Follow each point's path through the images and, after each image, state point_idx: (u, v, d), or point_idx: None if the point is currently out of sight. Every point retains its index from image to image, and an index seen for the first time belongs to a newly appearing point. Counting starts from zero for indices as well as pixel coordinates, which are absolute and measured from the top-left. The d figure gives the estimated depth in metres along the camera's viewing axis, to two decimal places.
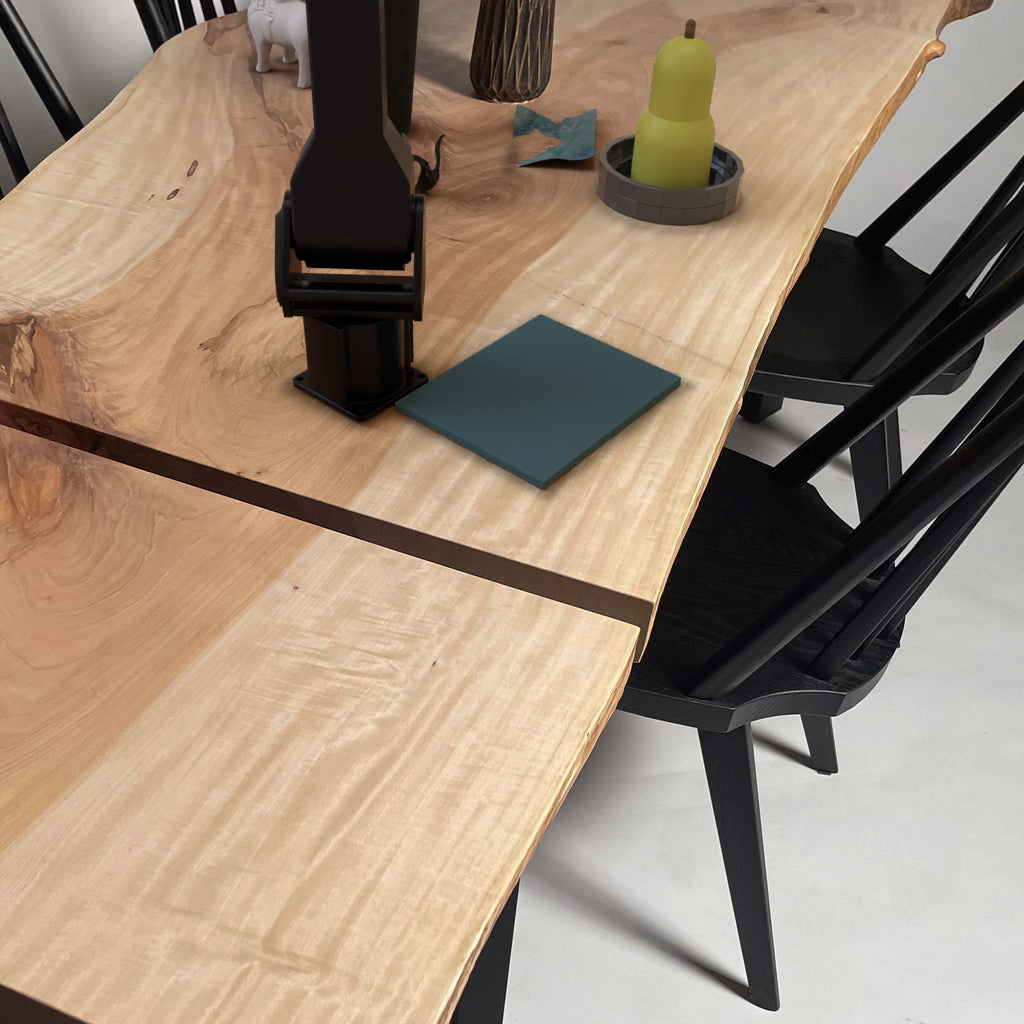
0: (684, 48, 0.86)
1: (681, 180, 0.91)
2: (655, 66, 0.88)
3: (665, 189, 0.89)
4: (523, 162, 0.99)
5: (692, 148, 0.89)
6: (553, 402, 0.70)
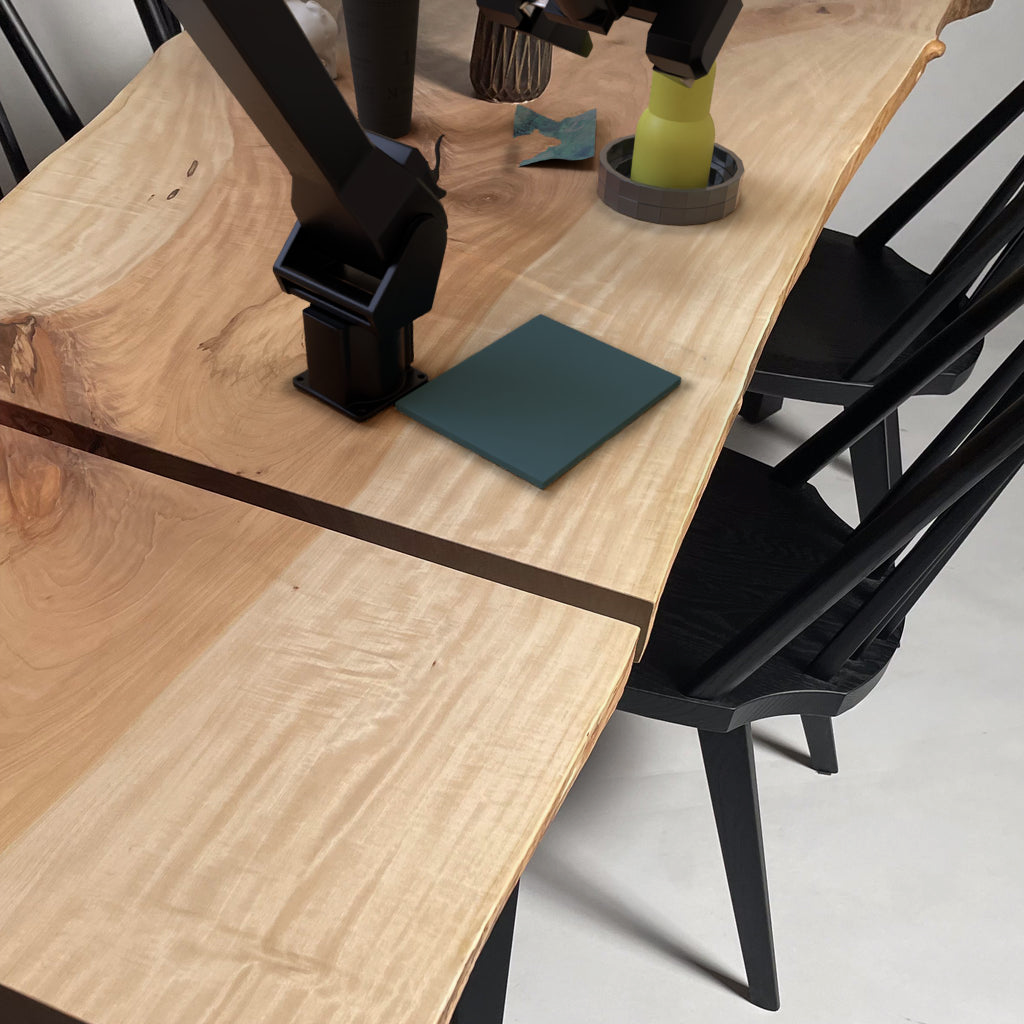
0: None
1: (681, 180, 0.91)
2: None
3: (665, 189, 0.89)
4: (523, 162, 0.99)
5: (692, 148, 0.89)
6: (553, 402, 0.70)
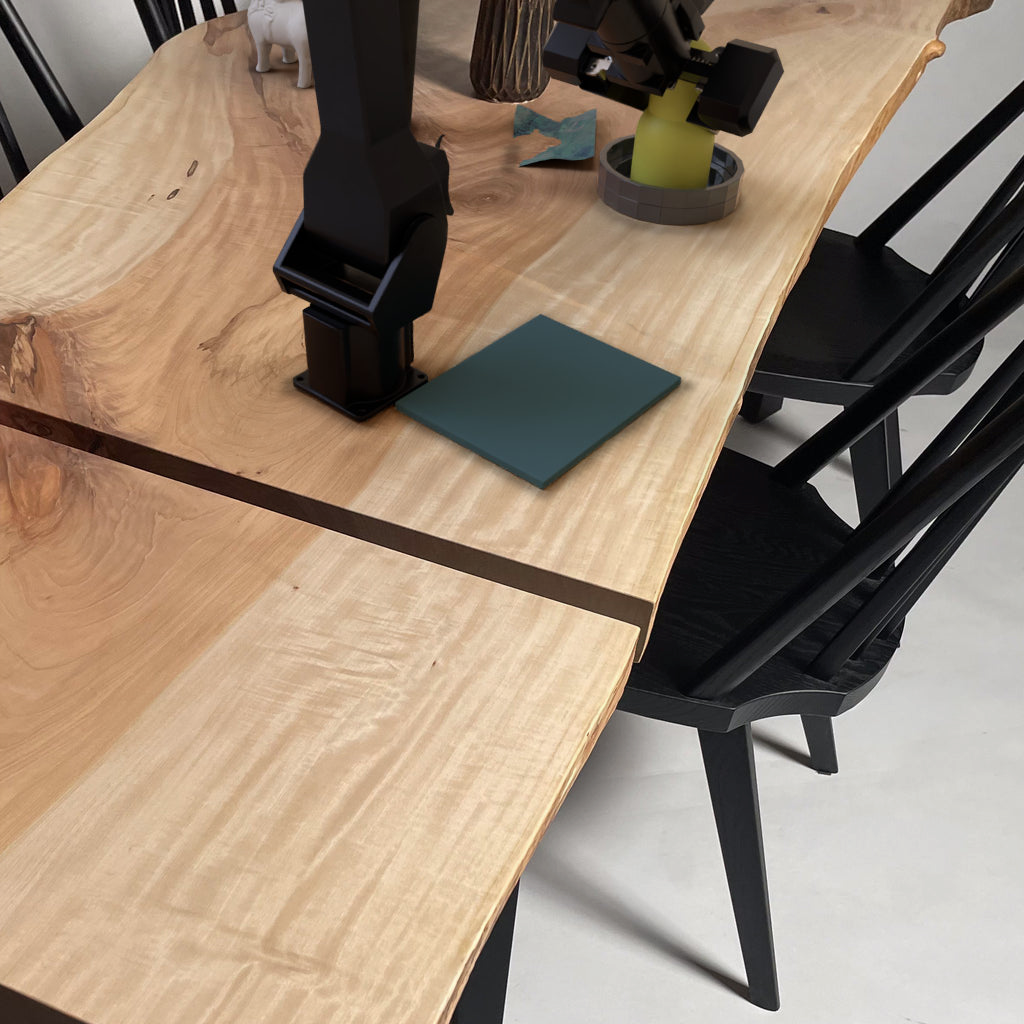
0: None
1: (681, 180, 0.91)
2: None
3: (665, 189, 0.89)
4: (523, 162, 0.99)
5: (692, 148, 0.89)
6: (553, 402, 0.70)
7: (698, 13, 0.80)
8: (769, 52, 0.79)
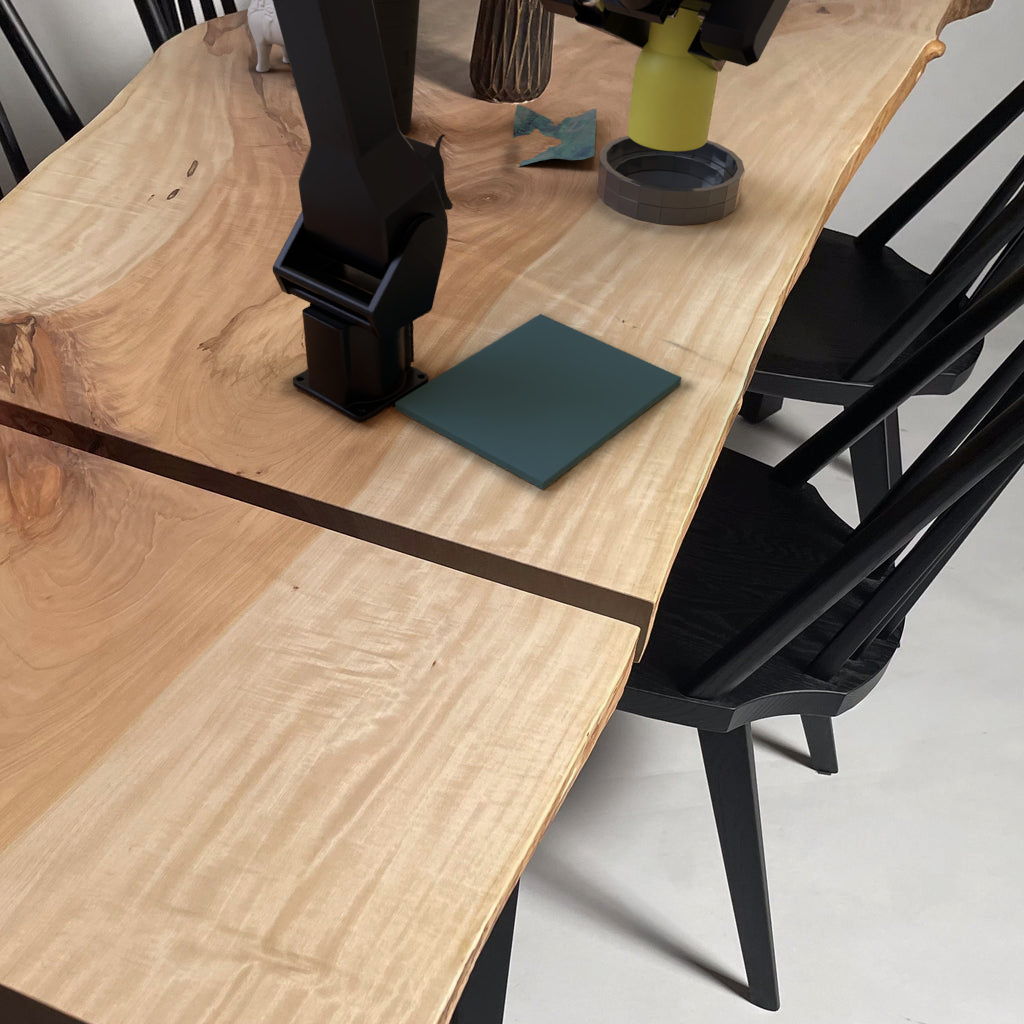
0: None
1: (682, 120, 0.87)
2: None
3: (665, 189, 0.89)
4: (523, 162, 0.99)
5: (694, 84, 0.85)
6: (553, 402, 0.70)
7: None
8: None
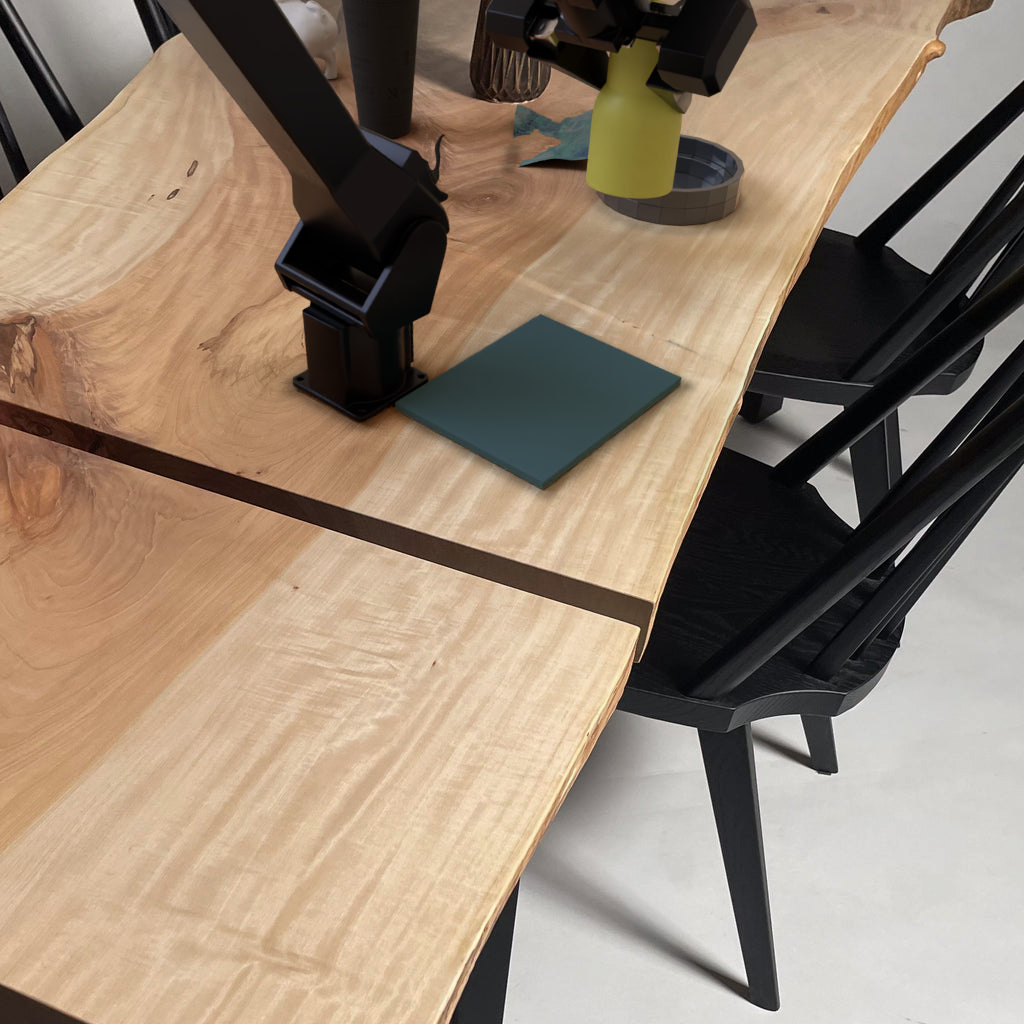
0: None
1: (643, 164, 0.80)
2: None
3: None
4: (523, 162, 0.99)
5: (655, 125, 0.78)
6: (553, 402, 0.70)
7: None
8: None
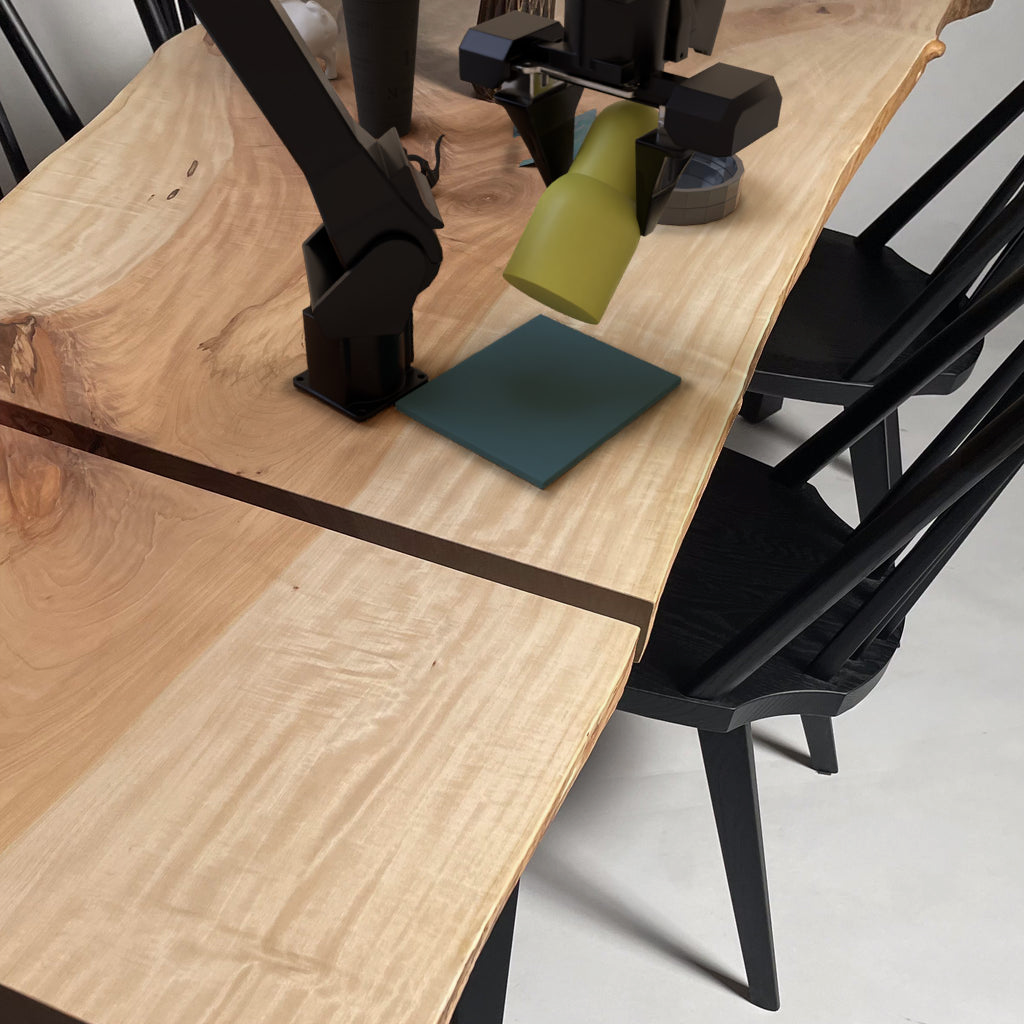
0: None
1: (586, 260, 0.64)
2: (596, 118, 0.66)
3: None
4: (523, 162, 0.99)
5: (615, 222, 0.64)
6: (553, 402, 0.70)
7: (690, 23, 0.61)
8: (774, 78, 0.59)
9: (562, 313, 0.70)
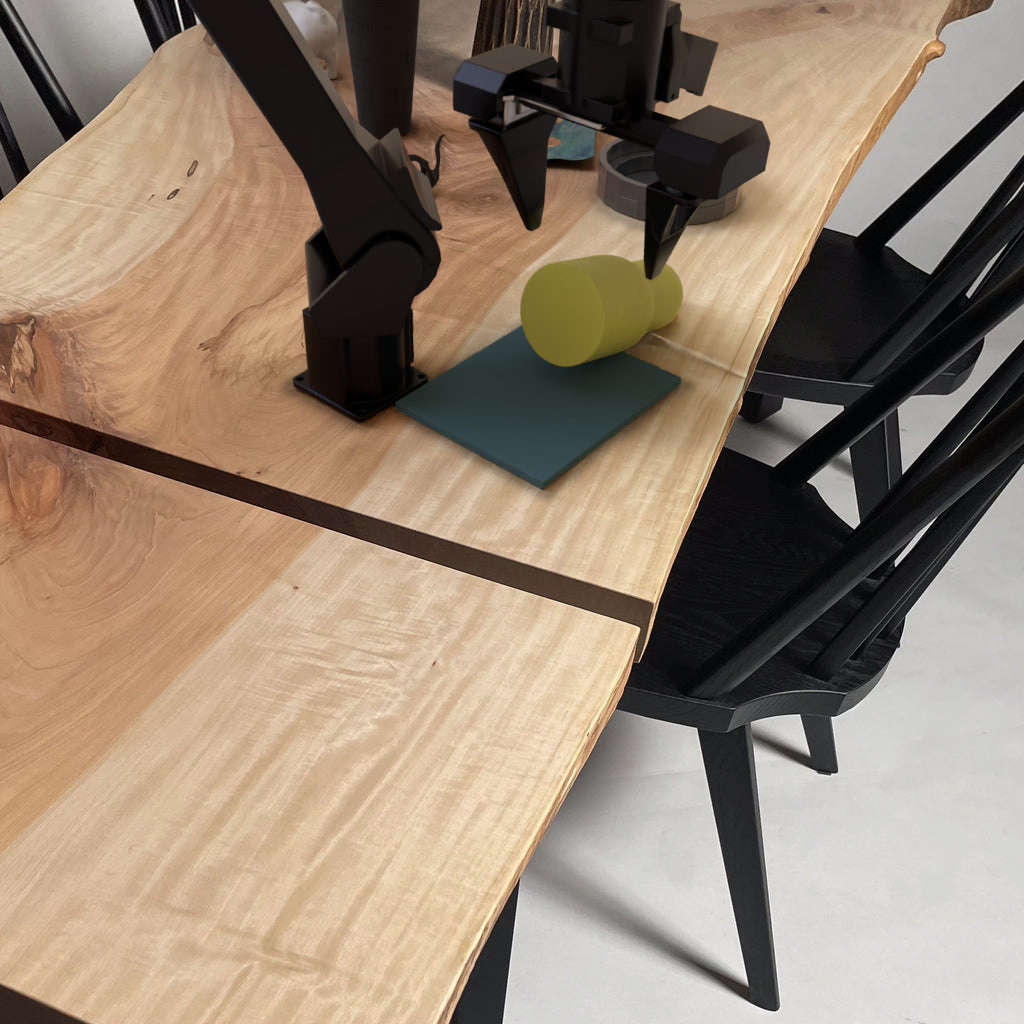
0: None
1: (621, 287, 0.69)
2: None
3: None
4: None
5: (646, 290, 0.71)
6: (553, 402, 0.70)
7: (682, 65, 0.62)
8: None
9: (544, 357, 0.71)
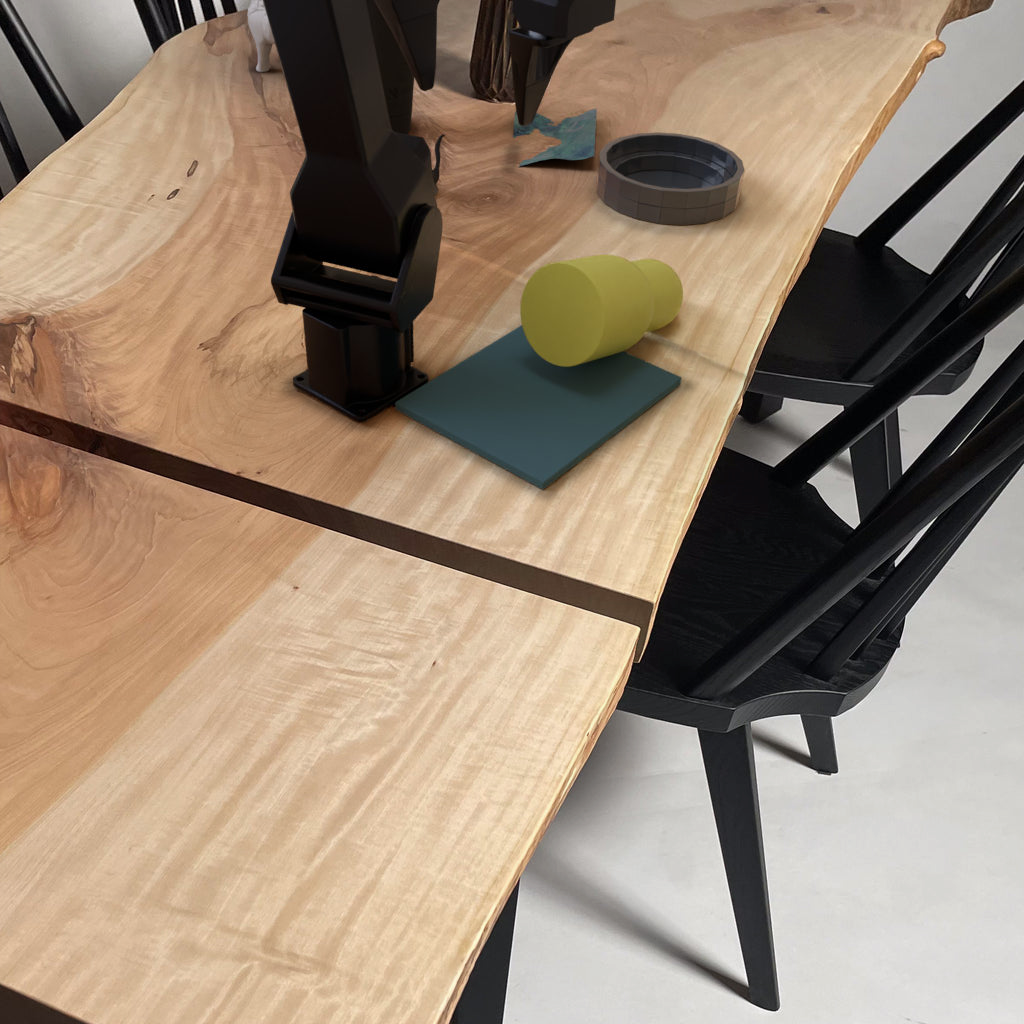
0: None
1: (621, 287, 0.69)
2: None
3: (665, 189, 0.89)
4: (523, 162, 0.99)
5: (646, 290, 0.71)
6: (553, 402, 0.70)
7: None
8: None
9: (544, 357, 0.71)
